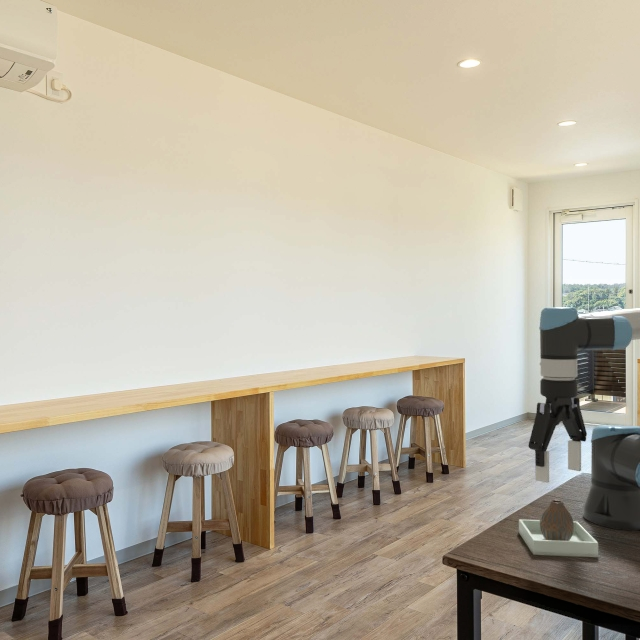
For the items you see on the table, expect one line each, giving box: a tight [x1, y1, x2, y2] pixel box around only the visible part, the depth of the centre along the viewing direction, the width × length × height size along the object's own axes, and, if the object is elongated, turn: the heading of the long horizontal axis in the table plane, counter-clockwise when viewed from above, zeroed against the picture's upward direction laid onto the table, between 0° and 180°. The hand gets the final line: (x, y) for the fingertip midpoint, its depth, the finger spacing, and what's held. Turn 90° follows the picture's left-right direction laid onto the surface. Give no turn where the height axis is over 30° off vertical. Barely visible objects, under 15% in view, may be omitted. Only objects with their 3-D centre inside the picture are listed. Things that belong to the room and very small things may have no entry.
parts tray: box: [518, 519, 599, 558], centre depth 134 cm, size 13×13×3 cm
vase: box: [539, 499, 574, 541], centre depth 134 cm, size 7×7×9 cm
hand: (558, 475), depth 134 cm, fingers open, 13 cm apart
